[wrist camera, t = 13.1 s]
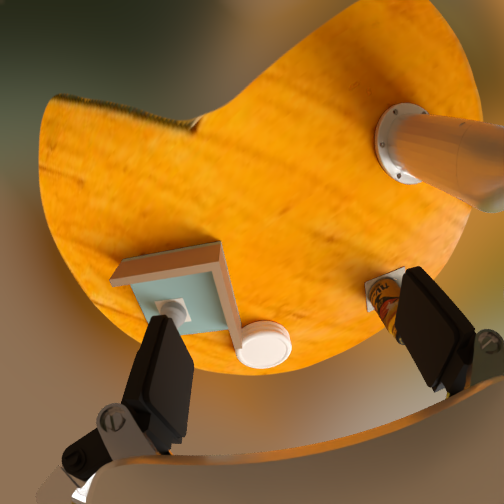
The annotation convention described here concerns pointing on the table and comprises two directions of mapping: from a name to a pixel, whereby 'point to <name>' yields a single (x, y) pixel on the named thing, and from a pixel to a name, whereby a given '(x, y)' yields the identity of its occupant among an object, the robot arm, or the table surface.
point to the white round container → (264, 345)
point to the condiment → (385, 298)
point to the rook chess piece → (174, 313)
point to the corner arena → (185, 287)
